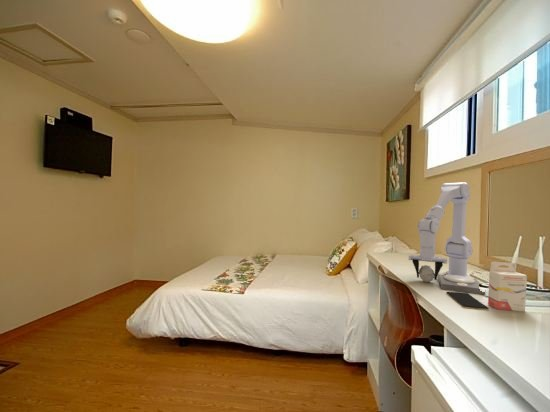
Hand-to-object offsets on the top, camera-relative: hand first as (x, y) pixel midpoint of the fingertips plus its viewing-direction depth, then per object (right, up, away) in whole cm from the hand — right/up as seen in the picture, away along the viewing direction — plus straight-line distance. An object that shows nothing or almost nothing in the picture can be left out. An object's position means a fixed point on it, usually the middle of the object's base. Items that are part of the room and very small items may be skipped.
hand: (426, 278), depth 120 cm
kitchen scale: (+11, -2, -5) cm, 12 cm away
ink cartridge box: (+11, -3, -28) cm, 30 cm away
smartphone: (+1, -3, -23) cm, 23 cm away
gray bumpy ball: (0, -2, 0) cm, 2 cm away
